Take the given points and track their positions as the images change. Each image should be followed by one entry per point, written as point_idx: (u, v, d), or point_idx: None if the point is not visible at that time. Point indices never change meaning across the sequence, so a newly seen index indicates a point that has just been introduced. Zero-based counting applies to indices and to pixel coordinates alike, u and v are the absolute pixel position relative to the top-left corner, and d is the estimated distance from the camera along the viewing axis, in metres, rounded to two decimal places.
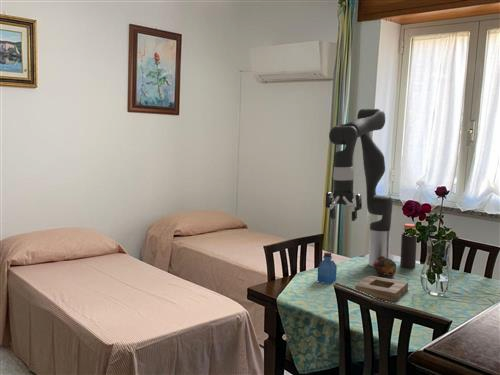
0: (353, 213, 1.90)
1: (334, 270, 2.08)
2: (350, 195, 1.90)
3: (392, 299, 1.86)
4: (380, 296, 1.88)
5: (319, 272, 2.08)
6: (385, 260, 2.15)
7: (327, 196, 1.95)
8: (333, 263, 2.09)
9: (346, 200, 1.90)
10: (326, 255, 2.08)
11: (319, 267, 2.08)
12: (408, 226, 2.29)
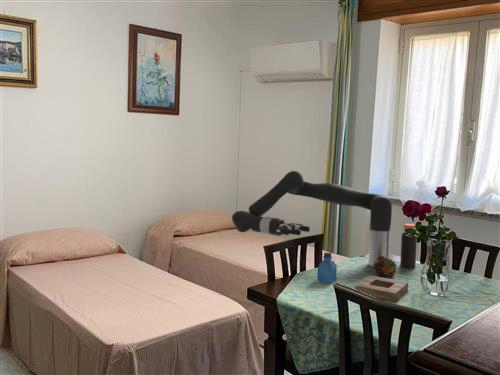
0: (293, 233, 2.11)
1: (334, 270, 2.08)
2: None
3: (392, 299, 1.86)
4: (380, 296, 1.88)
5: (319, 272, 2.08)
6: (385, 260, 2.15)
7: None
8: (333, 263, 2.09)
9: (286, 233, 2.16)
10: (326, 255, 2.08)
11: (319, 267, 2.08)
12: (408, 226, 2.29)
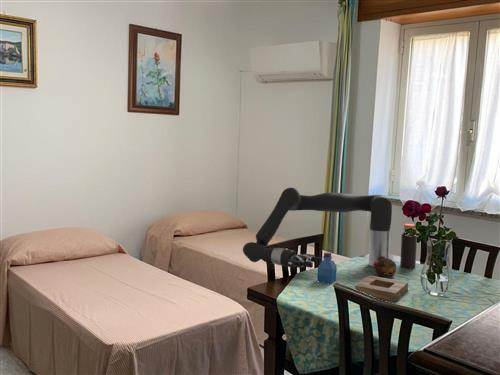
0: (305, 266, 2.10)
1: (334, 270, 2.08)
2: None
3: (392, 299, 1.86)
4: (380, 296, 1.88)
5: (319, 272, 2.08)
6: (385, 260, 2.15)
7: None
8: (333, 263, 2.09)
9: (297, 265, 2.15)
10: (326, 255, 2.08)
11: (319, 267, 2.08)
12: (408, 226, 2.29)
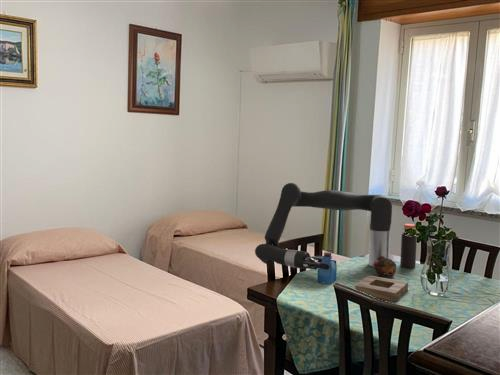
0: (321, 268, 2.07)
1: (334, 270, 2.08)
2: None
3: (392, 299, 1.86)
4: (380, 296, 1.88)
5: (319, 272, 2.08)
6: (385, 260, 2.15)
7: None
8: (333, 263, 2.09)
9: (312, 267, 2.11)
10: (326, 255, 2.08)
11: None
12: (408, 226, 2.29)
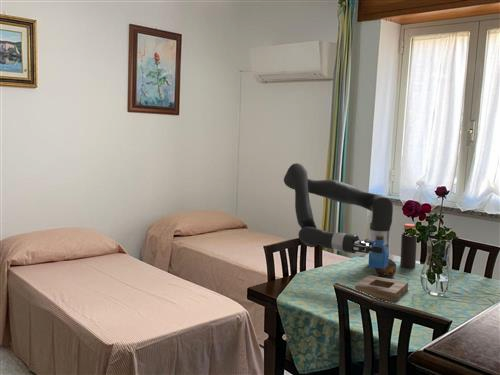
0: (374, 251, 1.92)
1: (387, 254, 1.94)
2: None
3: (392, 299, 1.86)
4: (380, 296, 1.88)
5: (370, 256, 1.94)
6: None
7: None
8: (386, 246, 1.94)
9: (362, 250, 1.97)
10: (378, 238, 1.93)
11: None
12: (408, 226, 2.29)
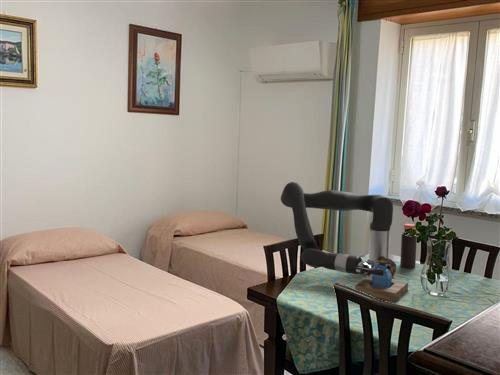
0: (375, 274, 1.92)
1: (390, 279, 1.94)
2: None
3: (392, 299, 1.86)
4: (380, 296, 1.88)
5: (373, 281, 1.94)
6: (385, 260, 2.15)
7: None
8: (388, 272, 1.95)
9: (365, 272, 1.97)
10: (381, 263, 1.94)
11: (373, 276, 1.94)
12: (408, 226, 2.29)
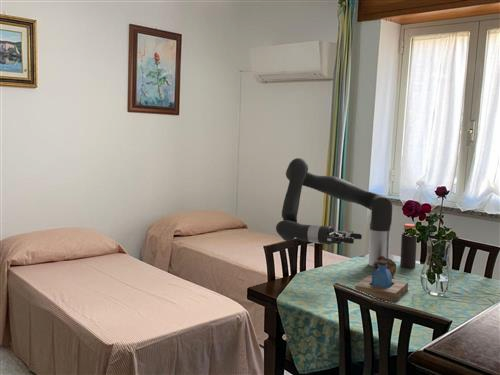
0: (346, 242, 1.98)
1: (390, 279, 1.94)
2: None
3: (392, 299, 1.86)
4: (380, 296, 1.88)
5: (373, 281, 1.94)
6: (385, 260, 2.15)
7: None
8: (388, 272, 1.95)
9: (336, 241, 2.03)
10: (381, 263, 1.94)
11: (373, 276, 1.94)
12: (408, 226, 2.29)
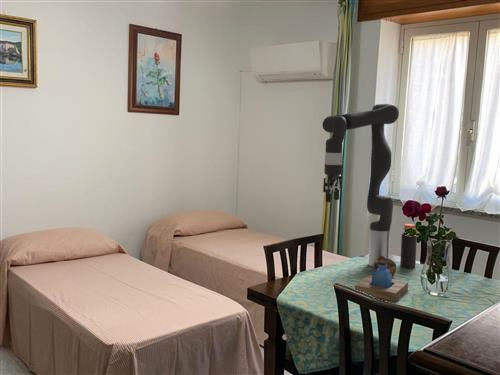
0: (326, 195, 2.10)
1: (390, 279, 1.94)
2: None
3: (392, 299, 1.86)
4: (380, 296, 1.88)
5: (373, 281, 1.94)
6: (385, 260, 2.15)
7: None
8: (388, 272, 1.95)
9: None
10: (381, 263, 1.94)
11: (373, 276, 1.94)
12: (408, 226, 2.29)
